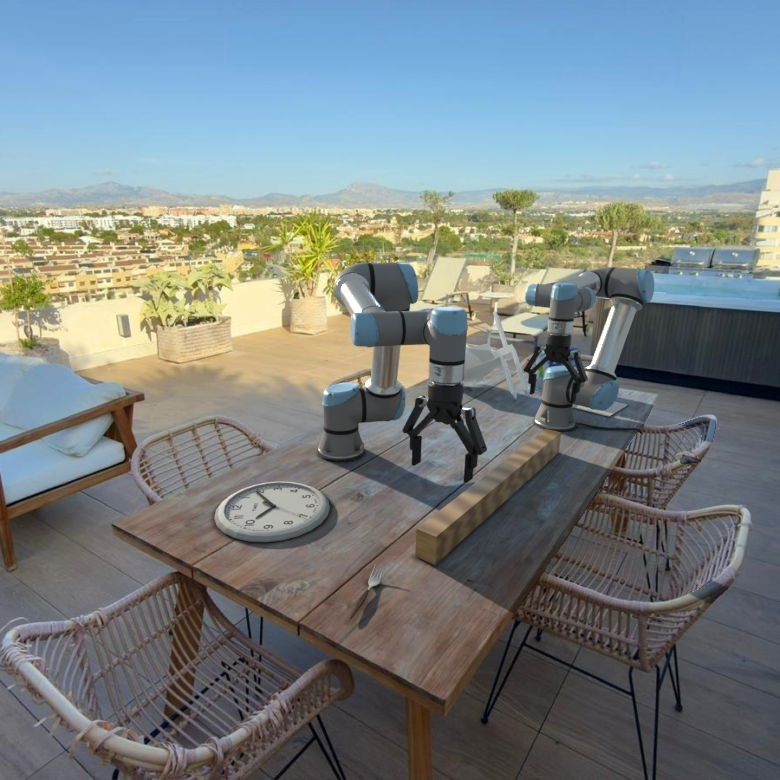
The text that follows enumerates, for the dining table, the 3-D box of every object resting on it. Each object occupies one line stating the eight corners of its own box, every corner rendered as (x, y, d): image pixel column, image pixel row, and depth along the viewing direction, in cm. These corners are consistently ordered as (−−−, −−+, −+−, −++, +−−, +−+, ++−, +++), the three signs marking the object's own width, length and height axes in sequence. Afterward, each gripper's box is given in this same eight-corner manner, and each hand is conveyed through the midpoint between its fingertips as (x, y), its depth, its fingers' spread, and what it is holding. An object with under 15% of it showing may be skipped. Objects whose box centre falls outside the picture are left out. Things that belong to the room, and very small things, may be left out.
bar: (543, 448, 182) (545, 428, 180) (558, 452, 179) (561, 432, 177) (415, 556, 121) (416, 528, 119) (434, 565, 118) (436, 536, 116)
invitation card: (608, 416, 214) (573, 407, 224) (608, 416, 214) (573, 408, 224) (628, 404, 229) (594, 396, 238) (628, 405, 229) (594, 397, 238)
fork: (344, 619, 101) (343, 610, 101) (374, 571, 116) (374, 563, 115) (356, 623, 100) (356, 614, 100) (385, 574, 115) (385, 566, 114)
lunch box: (550, 398, 235) (555, 353, 229) (529, 393, 243) (534, 349, 236) (577, 387, 253) (583, 345, 247) (557, 382, 260) (562, 341, 254)
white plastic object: (461, 429, 252) (437, 405, 227) (444, 352, 274) (420, 323, 250) (535, 404, 240) (518, 377, 215) (510, 326, 262) (492, 293, 237)
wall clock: (328, 534, 126) (200, 538, 124) (328, 540, 127) (201, 544, 124) (331, 477, 155) (227, 479, 152) (331, 482, 155) (227, 484, 153)
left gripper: (388, 374, 115) (387, 462, 122) (491, 397, 101) (483, 495, 107) (407, 367, 121) (405, 451, 127) (507, 388, 107) (499, 481, 113)
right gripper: (517, 330, 168) (511, 392, 175) (596, 340, 154) (587, 408, 160) (526, 326, 174) (520, 387, 180) (603, 337, 160) (594, 402, 166)
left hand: (441, 471), depth 117 cm, fingers open, 13 cm apart
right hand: (552, 397), depth 170 cm, fingers open, 13 cm apart
